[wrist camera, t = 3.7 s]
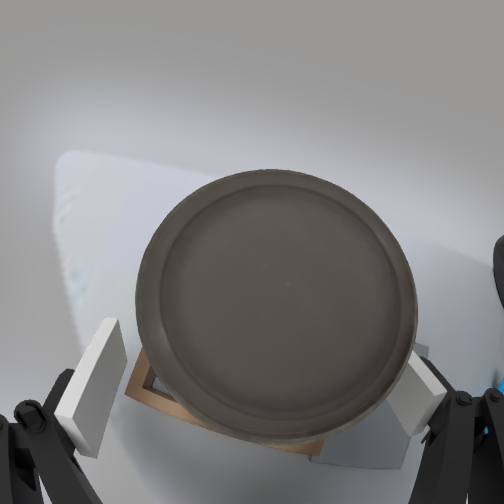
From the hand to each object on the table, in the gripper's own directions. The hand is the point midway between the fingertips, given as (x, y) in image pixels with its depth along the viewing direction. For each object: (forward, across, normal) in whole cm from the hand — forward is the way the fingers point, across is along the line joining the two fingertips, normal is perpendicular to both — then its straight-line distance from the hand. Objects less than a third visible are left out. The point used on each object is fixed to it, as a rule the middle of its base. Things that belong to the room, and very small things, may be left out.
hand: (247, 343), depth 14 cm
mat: (+2, +12, -9) cm, 15 cm away
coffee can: (+7, +1, -5) cm, 9 cm away
